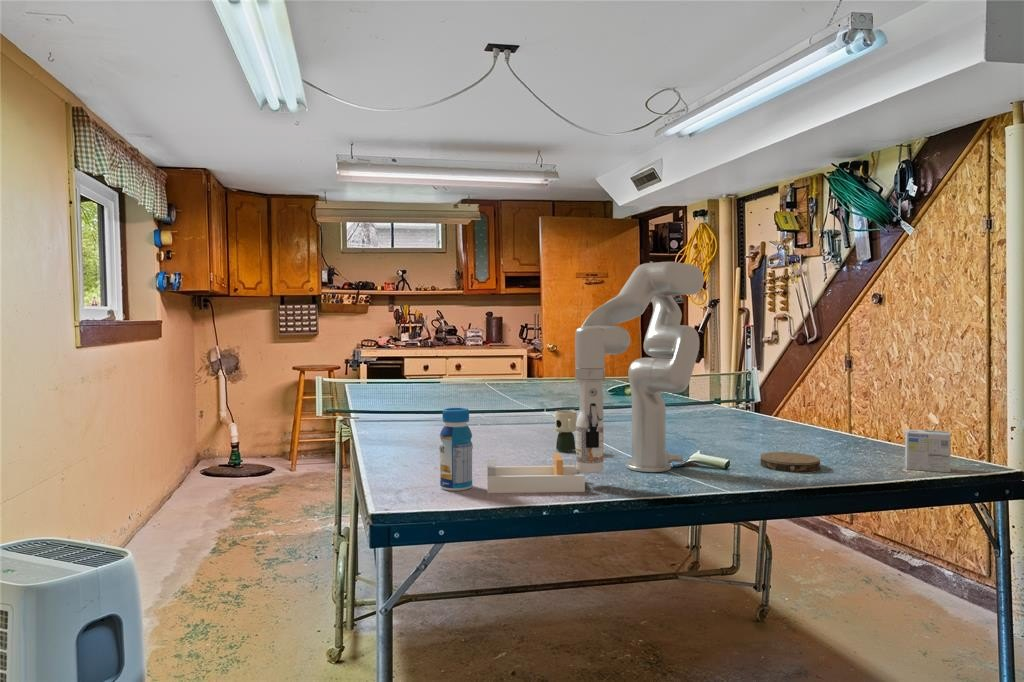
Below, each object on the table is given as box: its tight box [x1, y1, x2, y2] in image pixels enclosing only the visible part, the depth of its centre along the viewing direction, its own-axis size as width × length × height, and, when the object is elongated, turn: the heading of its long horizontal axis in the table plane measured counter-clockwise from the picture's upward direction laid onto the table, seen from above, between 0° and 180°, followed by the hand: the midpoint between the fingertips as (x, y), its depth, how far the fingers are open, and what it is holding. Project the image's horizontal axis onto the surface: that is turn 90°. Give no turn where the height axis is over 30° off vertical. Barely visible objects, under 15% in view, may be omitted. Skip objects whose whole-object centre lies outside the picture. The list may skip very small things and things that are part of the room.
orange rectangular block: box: [552, 452, 564, 475], centre depth 169 cm, size 2×9×6 cm, turn 2°
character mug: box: [554, 409, 578, 453], centre depth 215 cm, size 11×7×13 cm, turn 11°
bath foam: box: [575, 392, 604, 474], centre depth 169 cm, size 7×7×20 cm
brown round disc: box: [760, 451, 821, 474], centre depth 191 cm, size 16×16×3 cm
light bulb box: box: [904, 428, 952, 473], centre depth 187 cm, size 11×7×11 cm, turn 65°
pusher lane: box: [486, 459, 586, 494], centre depth 169 cm, size 24×12×6 cm, turn 92°
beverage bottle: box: [438, 407, 474, 492], centre depth 168 cm, size 8×8×20 cm
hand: (589, 444), depth 169 cm, fingers closed on bath foam, 7 cm apart
